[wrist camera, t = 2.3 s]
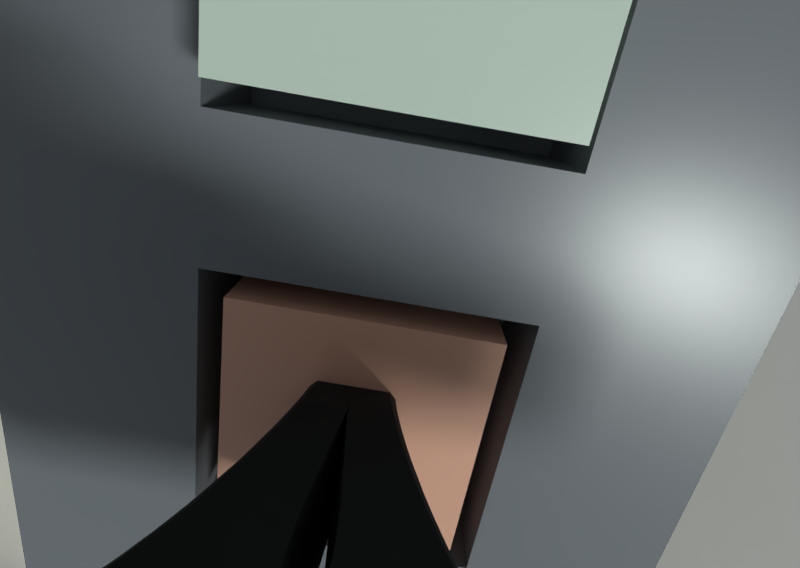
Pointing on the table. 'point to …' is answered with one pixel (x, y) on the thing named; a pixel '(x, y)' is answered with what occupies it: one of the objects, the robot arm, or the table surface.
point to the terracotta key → (362, 374)
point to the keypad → (390, 267)
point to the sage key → (426, 56)
